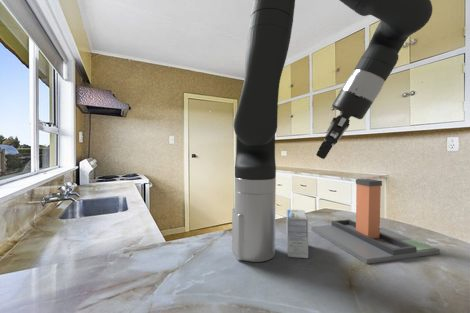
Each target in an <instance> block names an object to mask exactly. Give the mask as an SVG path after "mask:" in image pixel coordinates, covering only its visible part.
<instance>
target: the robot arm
mask: <svg viewBox="0 0 470 313" xmlns="http://www.w3.org/2000/svg"><path fill="white" fill-rule="evenodd" d="M339 1H340V2H341V3H342V4H344V5H345V6H346V7H348V8H349V9H350V10H352V11H353V12H355V13H356V14H358V15H359V16H361V17H363V16H364V17H368V16H373V17H375V19H378V20H379V21H380V22H379V23H378V24H377V27H376V28H375V31H374V32H373V33H372V34H373V35H372V37H371V39H370V40H369V41H370V42H369V44H368V46H367V48H366V49H365V51H364V53H363V54H362V56H361V57H360V59H359V60H358V62H357V64H356V66H355V68H354V69H353V71H352V72H351V74H350V75H349V76H348V77H347V79H346V80H345V82H344V84H343V85H342V87H341V89H340V91H339V92H338V95H337V96H336V97H335V100H334V101H333V103H332V105H331V106H332V108H333V109H335V110H337V111H339V112H340V113H339V115H337V116H336V117H335V116H334V117H333V118H332V119H331V122H330V125H329V127H328V128H327V130H326V133H325V137H324V138H323V141H322V143H320V146H319V147H318V150H317V152H316V153H315V154H316V155H315V156H317V157H318V158H320V159H322V160H325V159H326V157H327V156H328V154H329V153H330V151H331V149H332V148H333V147H334V146H335V145H336V144H337V143H338V140H341V138H342V136H343V135H344V133H345V132H346V131H347V130H348V129H349V126H350V121H351V120H350V118H351V117H352V118H355V119H357V120H362V119H364V117H365V116H366V114H367V112H369V110H370V108H371V106H372V105H373V103H374V102H375V100H376V98H377V97H378V95H379V94H380V92H381V91H382V88H383V86H384V84H385V82H386V81H387V79H388V78H389V76H390V74H391V73H392V71H393V70H394V68H395V66H396V65H397V63H398V60H399V52H400V51H401V50H402V47H403V46H404V44H406V41H407V39H408V38H409V37H410V36H411V35H413V34H415V33H416V32H419V31H420V30H421V29H422V28H423V27H425V26H426V24H428V23H429V21H430V19H431V18H432V17H431V16H432V14H433V4H432V1H431V0H339ZM295 3H296V0H252V5H251V11H250V17H249V23H248V29H247V30H248V31H247V36H246V49H245V65H244V67H245V68H244V77H243V78H244V80H243V85H242V88H241V89H242V90H241V94H240V98H239V101H238V104H237V109H236V112H235V117H234V119H233V128H234V132H235V136H236V138H235V139H236V140H235V142H236V143H235V150H236V151H235V163H234V208H232V213H231V216H232V217H231V218H232V219H231V222H232V224H231V226H232V227H231V231H232V232H231V238H232V240H231V249H232V250H233V253H234V255H235V258H236V259H237V260H238V261H245V262H250V263H251V262H252V263H261V262H265V261H269V260H272V259H273V258H274V257H275V254H276V188H277V187H276V180H277V175H276V174H277V167H276V166H277V164H276V133H277V130H278V113H279V111H278V110H279V109H278V108H279V107H278V106H279V94H280V93H279V92H280V82H281V79H282V78H281V77H282V74H283V69H284V67H285V64H286V60H287V55H288V53H289V47H290V43H291V38H292V30H293V24H294V14H295V7H296V4H295Z"/></svg>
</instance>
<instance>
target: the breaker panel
mask: <svg viewBox="0 0 470 313" xmlns="http://www.w3.org/2000/svg"><path fill="white" fill-rule="evenodd" d="M310 228H311V231H312V232H314V233H315V234H318V235H319V236H321V237H322V238H324V239H325V240H326V241H328V242H330V243H332V244H334V245H335V246H336V247H339V248H340V249H342V250H344V251H345V252H347V253H348V254H349V255H351V256H353V257H354V258H356V259H357V260H360V262H363V263H364V264H373V263H374V264H377V263H383V262H389V261H397V260H402V259H403V260H404V259H410V258H418V257H425V256H432V255H434V256H435V255H439V254H440V252H441V250H440V248H437V247H434V246H432V245H429V244H426V243H425V242H421V241H419V240H417V239H414V238H412V237H408V236H406V235H403V234H400V233H399V232H395V231H394V230H391V229H388V228H385V227H383V226H380V237H379V238H371V237H369V236H367V235H364V234H362V233H360V232H358V231H356V221H355V220H352V219H338V220H331V223H330V224H326V225H316V226H315V225H314V226H311V227H310Z"/></svg>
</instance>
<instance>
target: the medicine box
mask: <svg viewBox="0 0 470 313" xmlns="http://www.w3.org/2000/svg"><path fill="white" fill-rule="evenodd" d="M286 247H287V249H286V250H287V257H288V258H289V257H290V258H297V259H299V258H300V259H308V258H309V219H308V216H307V215H306V211H305V210H302V209H287V210H286Z"/></svg>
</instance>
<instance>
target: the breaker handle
mask: <svg viewBox="0 0 470 313" xmlns="http://www.w3.org/2000/svg"><path fill="white" fill-rule="evenodd" d="M355 184H356V206H355V207H356V209H355V222H356V231H358V232H360V233H362V234H364V235H367V236H369V237H371V238H379V237H380V227H381V188H382V187H381V186H383V181H382V180H378V179H372V178H356V179H355Z"/></svg>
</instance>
